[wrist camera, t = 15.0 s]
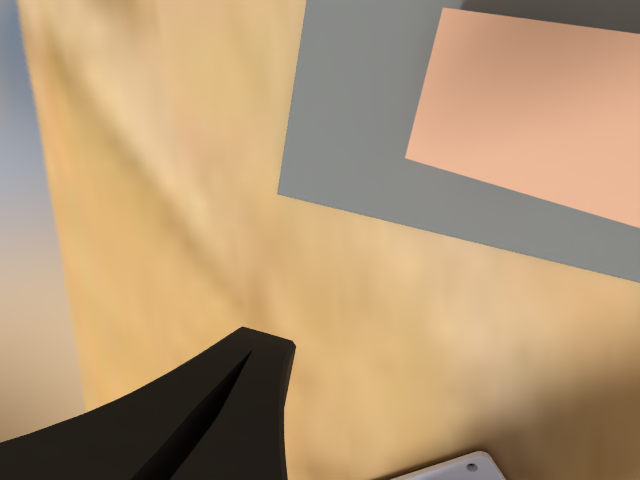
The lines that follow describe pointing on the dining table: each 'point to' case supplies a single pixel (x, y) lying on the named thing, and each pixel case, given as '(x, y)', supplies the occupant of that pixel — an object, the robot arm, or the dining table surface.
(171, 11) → the dining table surface
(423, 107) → the terracotta domino
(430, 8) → the slate runway mat
